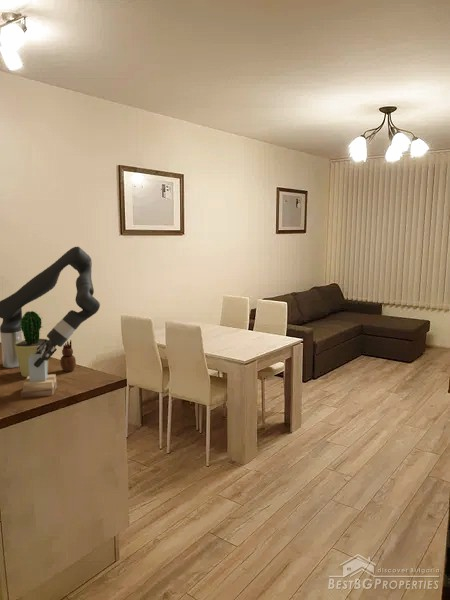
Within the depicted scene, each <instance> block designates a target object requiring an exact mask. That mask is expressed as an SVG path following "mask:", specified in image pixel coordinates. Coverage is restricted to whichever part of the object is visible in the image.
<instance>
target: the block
mask: <svg viewBox="0 0 450 600" xmlns="http://www.w3.org/2000/svg"><path fill="white" fill-rule="evenodd" d="M40 356H41V354H31V355H30V356H29V358H28V365H29V379H30V382H39V381H46V379H47V377H48V374H49V373H48V372H47V361H44V362H43V363H42V364H41V365H40V366H39V367H38V368H37V367H36V366H34V363H35V362H36V361H37V360H38V359H39V357H40Z"/></svg>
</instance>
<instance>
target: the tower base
mask: <svg viewBox="0 0 450 600" xmlns="http://www.w3.org/2000/svg"><path fill="white" fill-rule="evenodd" d="M57 387H58V380H57V379H56V382H55V385H54V387H53V389H52V390H39V391H27V392H24V390H23V388H22V389H21V391H20V398H34V397H48V396H49V397H50V396H53V395H54V393H55V391H56V389H57Z"/></svg>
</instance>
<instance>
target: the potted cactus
mask: <svg viewBox="0 0 450 600" xmlns="http://www.w3.org/2000/svg"><path fill="white" fill-rule="evenodd" d="M42 319H43V317H42V316H40V313H38V312H37V311H34V310H31V311H30V310H28V311H25V313H24V314H22V319H21V320H22V321H21V328H20V329H21V335H22V336H23V337H22V338H23V339H22V341H19V342H16V343H15V344H14V345H15V350H16V354H17V358H18V362H19V371H20V375H21V376H22V377H25V378H27V377H28V376H29V365H28V358H29V356H30V355H31V354H35V353H37V352H36V351H37V348H38V347H39V346H40V345H41V344H42V343H43V342H44V341H45V339H47V338H40V332H41V331H42V330H41V329H42V328H43V326H42ZM19 324H20V323H19ZM47 340H49V338H48V339H47ZM49 359H50V358H49ZM49 359H48V360H47V373H48V371H49Z"/></svg>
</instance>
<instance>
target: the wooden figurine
mask: <svg viewBox="0 0 450 600" xmlns="http://www.w3.org/2000/svg"><path fill="white" fill-rule="evenodd" d="M62 347H63V348H62V350H61V354H62V356H61V357H60V359H59V360H60V361H59V362H60V367H61V370H62V371H63V372H69V373H70V372H73V371H74V370H75V368H76V366H77V365H76V364H77V363H76V361H77V360H76V357H75V356H74V355H73V354H74V350H73V348H72V347H73V346H72V339H70V341H69V340H67V341H66V342H65V343H64V344H63V345H62Z"/></svg>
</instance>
